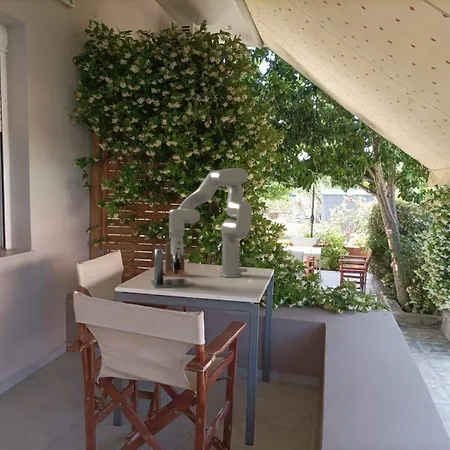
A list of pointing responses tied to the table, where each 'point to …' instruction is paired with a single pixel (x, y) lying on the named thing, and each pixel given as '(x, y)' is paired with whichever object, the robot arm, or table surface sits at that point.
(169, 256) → the brown slanted frame
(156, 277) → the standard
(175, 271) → the wedge pin
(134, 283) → the table surface
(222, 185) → the robot arm
